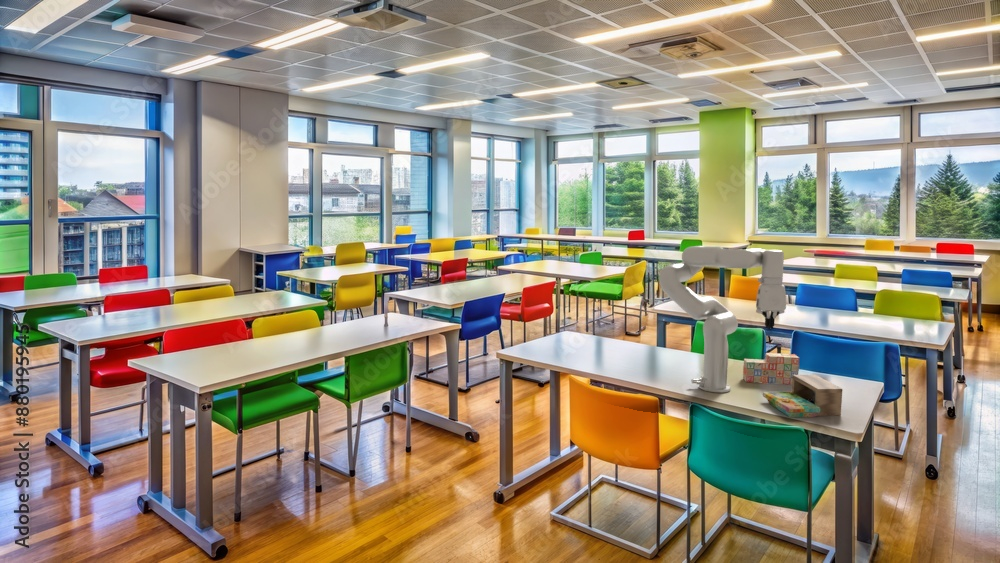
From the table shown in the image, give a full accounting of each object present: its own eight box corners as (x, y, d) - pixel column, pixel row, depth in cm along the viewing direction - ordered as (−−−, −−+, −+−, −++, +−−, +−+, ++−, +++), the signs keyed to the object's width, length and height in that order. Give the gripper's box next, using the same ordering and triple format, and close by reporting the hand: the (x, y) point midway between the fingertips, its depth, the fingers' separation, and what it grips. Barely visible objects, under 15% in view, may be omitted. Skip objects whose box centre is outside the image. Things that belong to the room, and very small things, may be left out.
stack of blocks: (745, 382, 264) (747, 355, 262) (742, 378, 270) (743, 351, 268) (798, 385, 260) (799, 357, 258) (793, 381, 266) (795, 353, 265)
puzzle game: (789, 406, 218) (762, 390, 238) (788, 419, 219) (762, 401, 238) (820, 406, 219) (791, 389, 238) (819, 418, 219) (790, 401, 239)
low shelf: (816, 415, 222) (818, 389, 220) (791, 399, 240) (792, 374, 239) (840, 415, 222) (842, 388, 220) (813, 399, 240) (815, 374, 239)
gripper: (756, 282, 230) (754, 329, 233) (795, 282, 230) (793, 329, 233) (748, 280, 238) (746, 326, 240) (786, 280, 238) (783, 326, 240)
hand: (769, 327), depth 236 cm, fingers closed
